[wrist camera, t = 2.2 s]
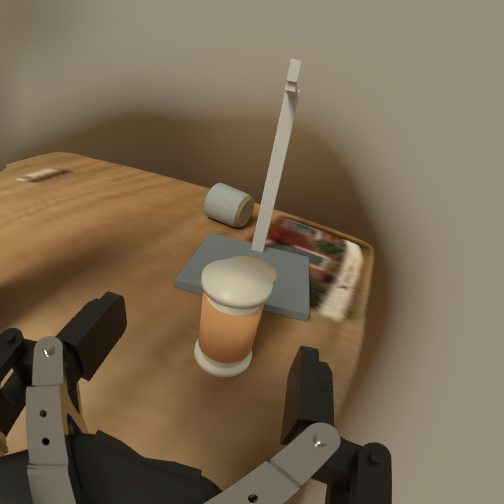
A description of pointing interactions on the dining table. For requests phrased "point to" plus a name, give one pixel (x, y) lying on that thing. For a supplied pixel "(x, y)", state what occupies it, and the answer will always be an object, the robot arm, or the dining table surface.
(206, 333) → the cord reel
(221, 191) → the ceramic mug
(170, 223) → the dining table surface
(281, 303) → the stand
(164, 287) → the dining table surface
